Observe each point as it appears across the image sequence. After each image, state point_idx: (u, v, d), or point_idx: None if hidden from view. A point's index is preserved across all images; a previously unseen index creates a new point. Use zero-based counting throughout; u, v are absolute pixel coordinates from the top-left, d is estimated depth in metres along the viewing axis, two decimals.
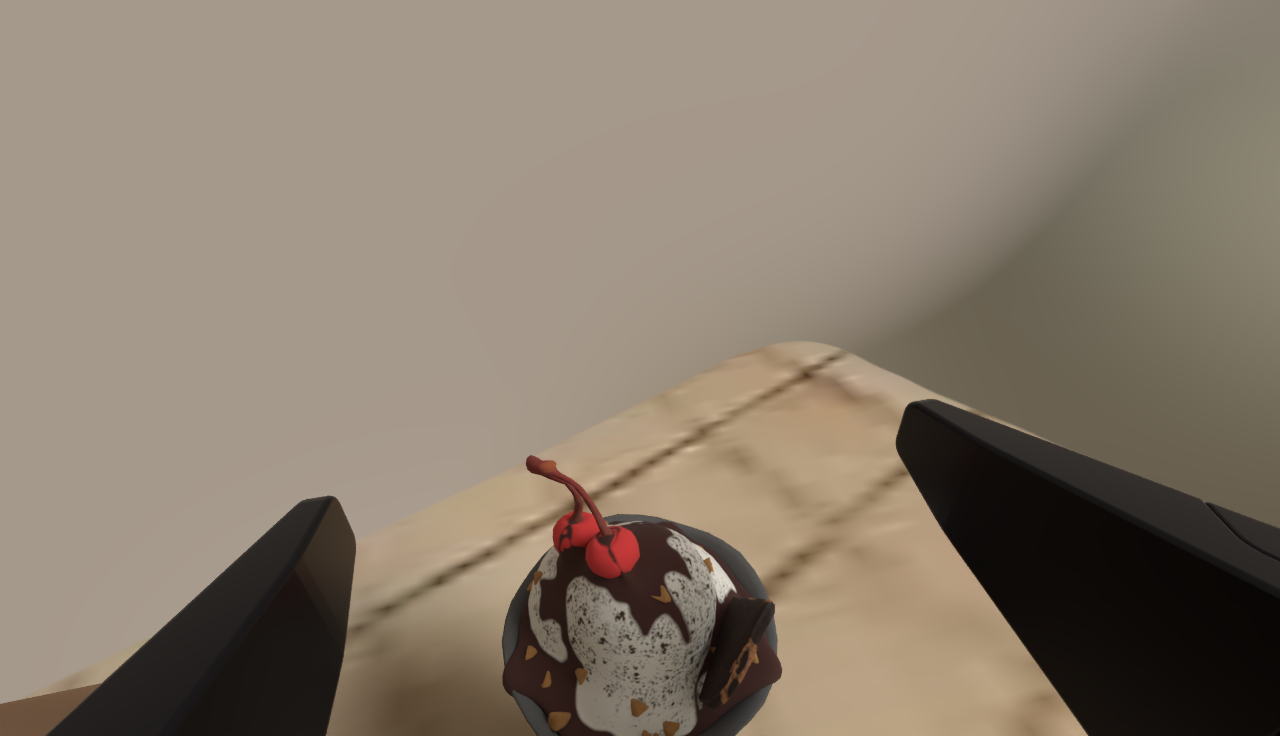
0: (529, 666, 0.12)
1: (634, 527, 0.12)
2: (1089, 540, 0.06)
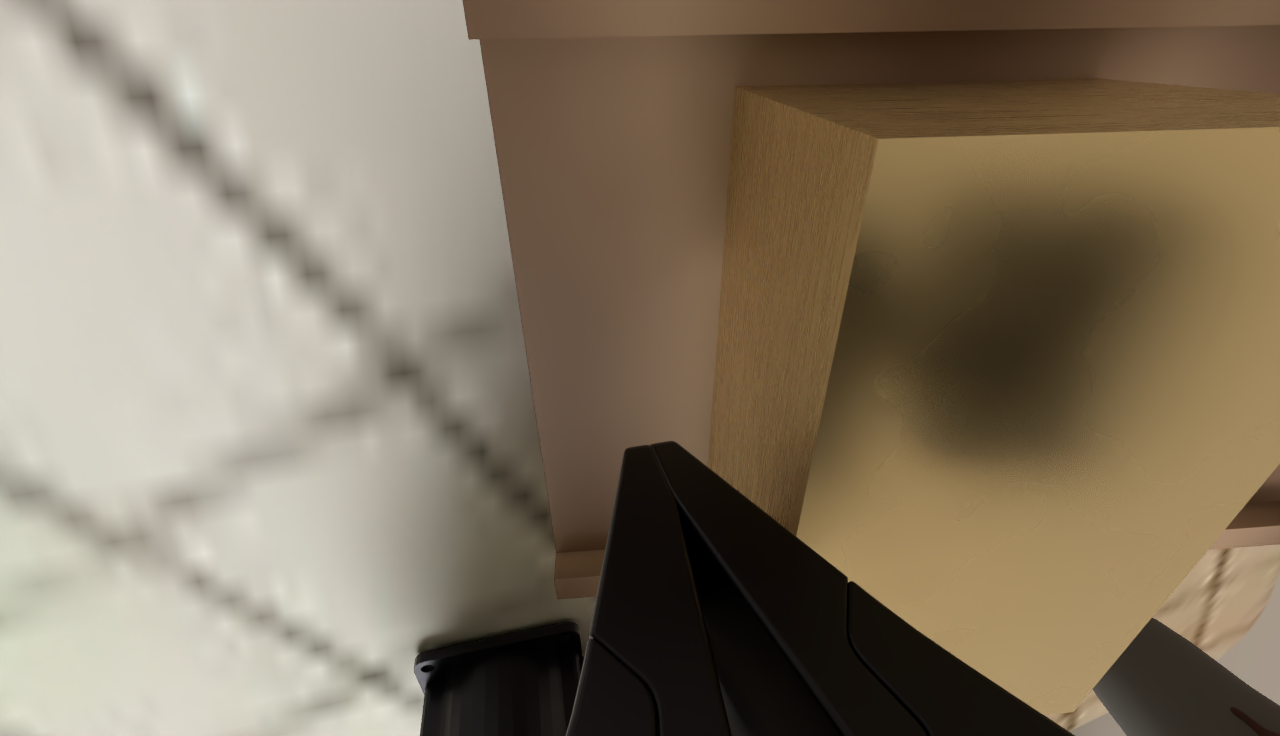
0: None
1: None
2: (734, 621, 0.06)
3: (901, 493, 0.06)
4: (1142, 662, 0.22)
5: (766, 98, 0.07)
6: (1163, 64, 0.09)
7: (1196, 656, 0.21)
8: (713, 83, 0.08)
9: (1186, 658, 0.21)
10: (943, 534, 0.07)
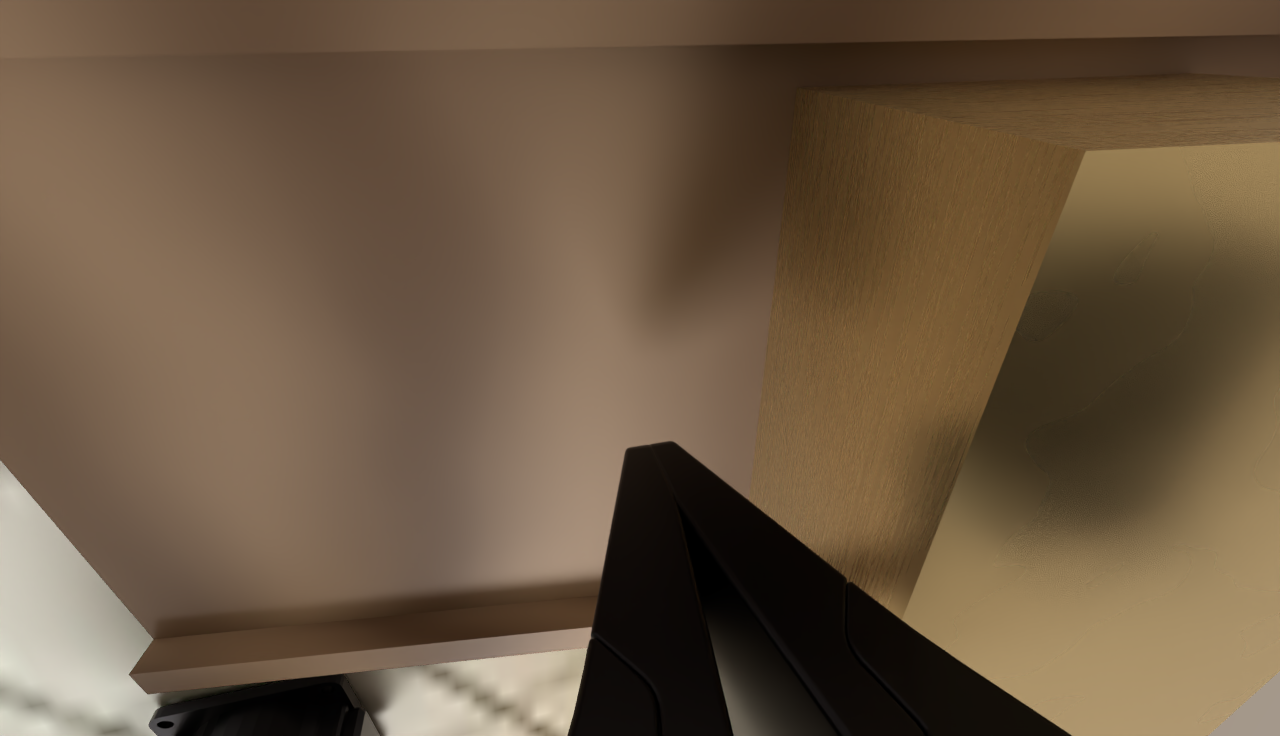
0: None
1: None
2: (733, 621, 0.06)
3: (1031, 562, 0.05)
4: None
5: (854, 99, 0.06)
6: (614, 90, 0.07)
7: None
8: (29, 116, 0.07)
9: None
10: (1070, 602, 0.06)
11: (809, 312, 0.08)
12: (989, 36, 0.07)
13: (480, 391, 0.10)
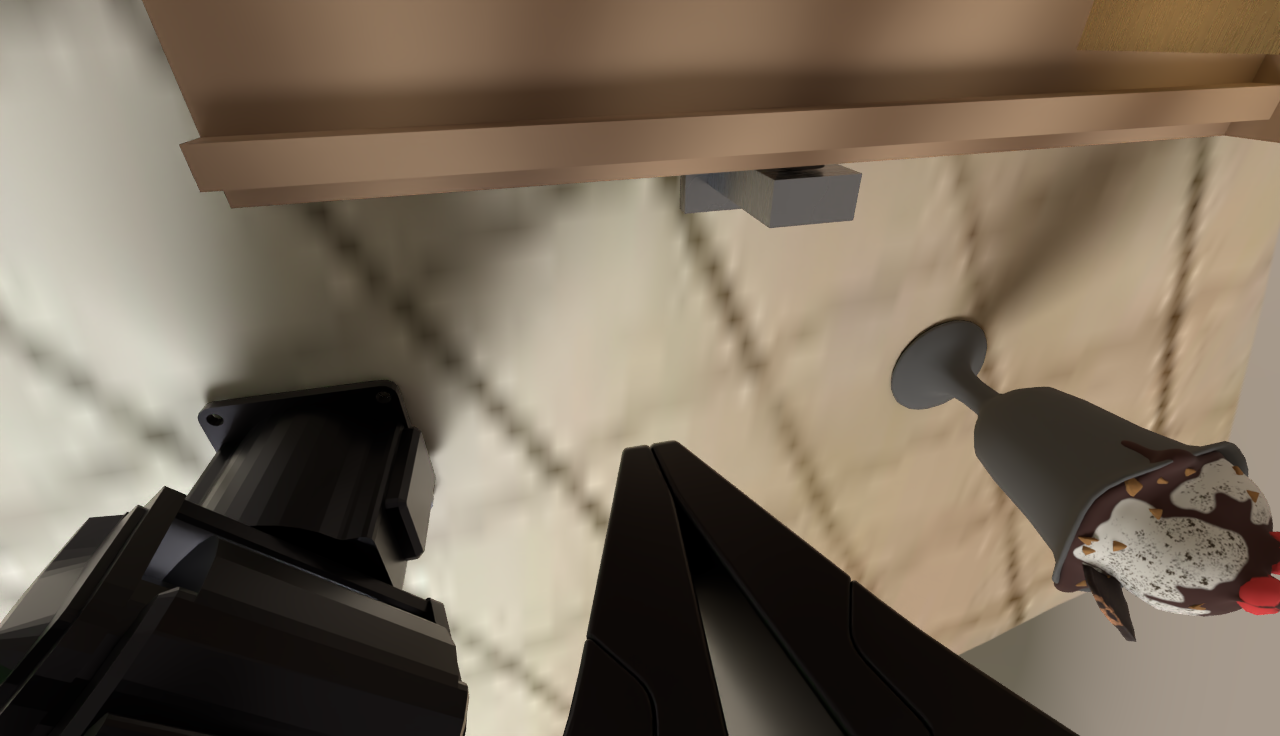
0: (1180, 471, 0.15)
1: None
2: (737, 620, 0.06)
3: None
4: (1033, 420, 0.19)
5: None
6: None
7: (1093, 408, 0.19)
8: None
9: (1081, 409, 0.19)
10: None
11: None
12: None
13: None
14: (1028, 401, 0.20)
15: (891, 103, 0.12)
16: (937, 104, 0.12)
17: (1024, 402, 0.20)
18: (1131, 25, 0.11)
